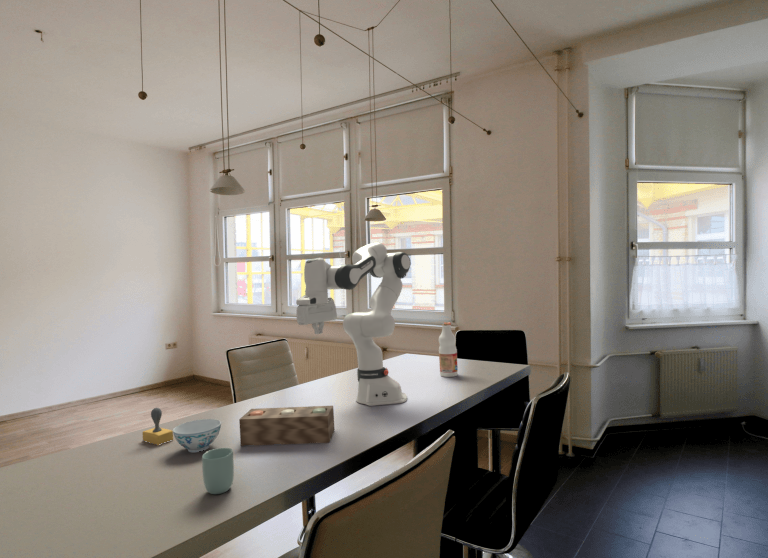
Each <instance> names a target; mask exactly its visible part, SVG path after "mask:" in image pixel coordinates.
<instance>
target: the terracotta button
mask: <svg viewBox="0 0 768 558" xmlns="http://www.w3.org/2000/svg"><path fill="white" fill-rule="evenodd" d="M262 414H263V411H261V410H258V411H253V412H251V413H250V416H259V415H262Z"/></svg>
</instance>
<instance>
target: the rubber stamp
mask: <svg viewBox="0 0 768 558" xmlns="http://www.w3.org/2000/svg"><path fill="white" fill-rule="evenodd" d="M162 412H163V411H162V409H161V408H159V407H154V408H153V409H152V410H151V412H150V417H151V419H152V421H153V423H154V427H153V428H148V429H147V430H143V431H142V441H143V440H144V441H147V442H150V443H149V444H151V443H153V444H152V445H155V444H157V445H156V446H158V445H159V444H161V443H164V442H167V441H170V440H173V441H174V433H173V429H169V428H163V427H160V422H161V418H162V416H163V415H162ZM144 441H143V442H144ZM147 442H146V443H147Z"/></svg>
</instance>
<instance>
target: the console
mask: <svg viewBox="0 0 768 558" xmlns="http://www.w3.org/2000/svg"><path fill="white" fill-rule="evenodd" d="M316 408H325V410H326V412H325V413H313V410H314V409H316ZM287 409H293V410H294V414H284V415H281V411H283V410H287ZM258 410H261V411H263V414H262V415H259V416H250V413H251V412H253V411H258ZM334 411H335V410H334V405H314V406H313V405H311V406H291V407H290V406H288V407H285V406H284V407H266V408H265V407H263V408H262V407H260V408H251V409H249V410H248V411H247V412H246V413H244V415H243V416H242V417H240V418H239V436H240V437H239V438H240V446H241V447H245V446H244V445H254V446H273V445H274V444H281V445H297V444H298V445H303V444H306V445H308V444H329V443H330V442H331V439H332V437H333V435H334V433H335V431H334V430H335V413H334ZM274 446H275V445H274Z"/></svg>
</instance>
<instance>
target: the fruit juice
mask: <svg viewBox="0 0 768 558" xmlns="http://www.w3.org/2000/svg"><path fill="white" fill-rule="evenodd" d="M451 327H452V323H451V322H450V321H449V322H441V334H439V336H438V343H439V347H438V357H439V360H438V361H439V375H440V376H441V377H443V378H453V377H454V378H455V377H457V376H458V374H459V369H458V368H459V367H458V349H457V346H456V341H457V340H456V339H457V338H456V335H455V334H454V333H453V331H452V328H451Z"/></svg>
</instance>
